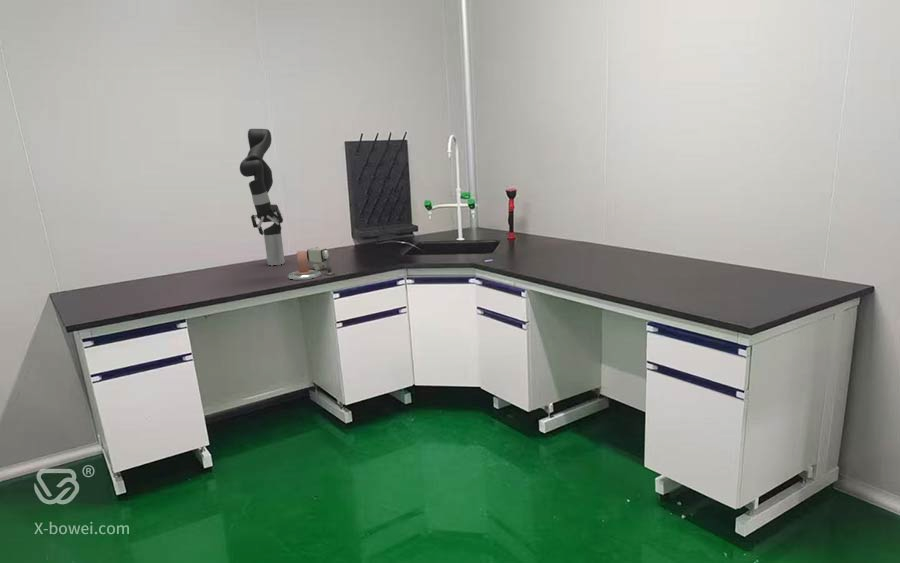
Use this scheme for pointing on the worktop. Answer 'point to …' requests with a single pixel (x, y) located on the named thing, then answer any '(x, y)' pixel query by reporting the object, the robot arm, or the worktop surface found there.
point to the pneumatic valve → (316, 257)
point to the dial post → (327, 256)
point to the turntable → (304, 277)
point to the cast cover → (302, 263)
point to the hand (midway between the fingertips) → (271, 232)
